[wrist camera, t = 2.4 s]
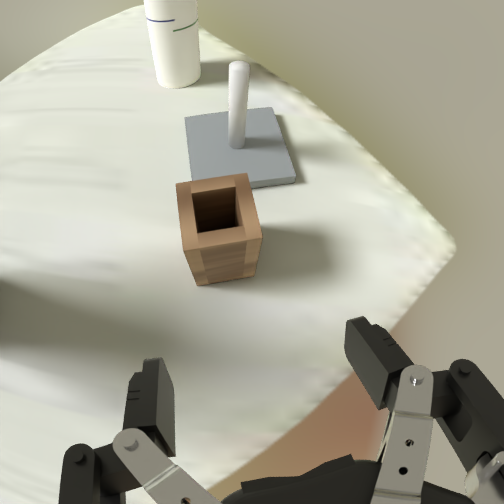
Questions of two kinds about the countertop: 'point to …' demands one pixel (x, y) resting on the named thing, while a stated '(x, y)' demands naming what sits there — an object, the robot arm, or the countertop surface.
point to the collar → (219, 228)
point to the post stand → (239, 139)
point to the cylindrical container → (174, 41)
